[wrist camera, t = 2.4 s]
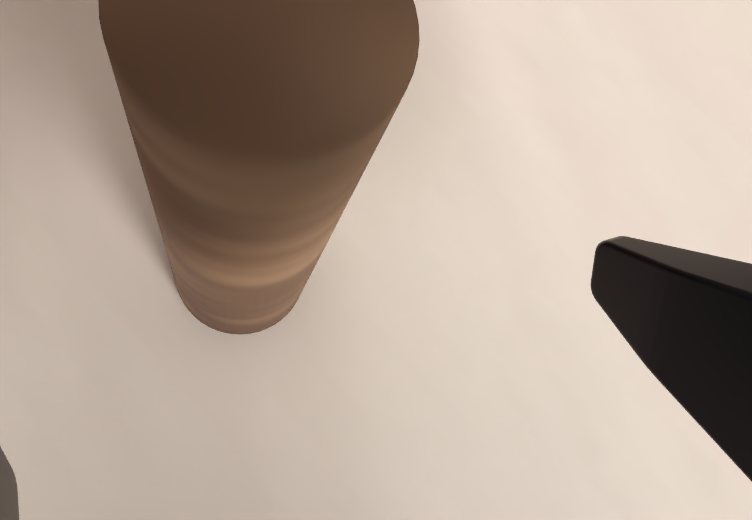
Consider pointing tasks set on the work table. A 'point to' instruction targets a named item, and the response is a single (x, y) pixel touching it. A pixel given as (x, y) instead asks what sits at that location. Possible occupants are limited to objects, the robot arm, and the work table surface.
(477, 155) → the work table surface
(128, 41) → the pin
